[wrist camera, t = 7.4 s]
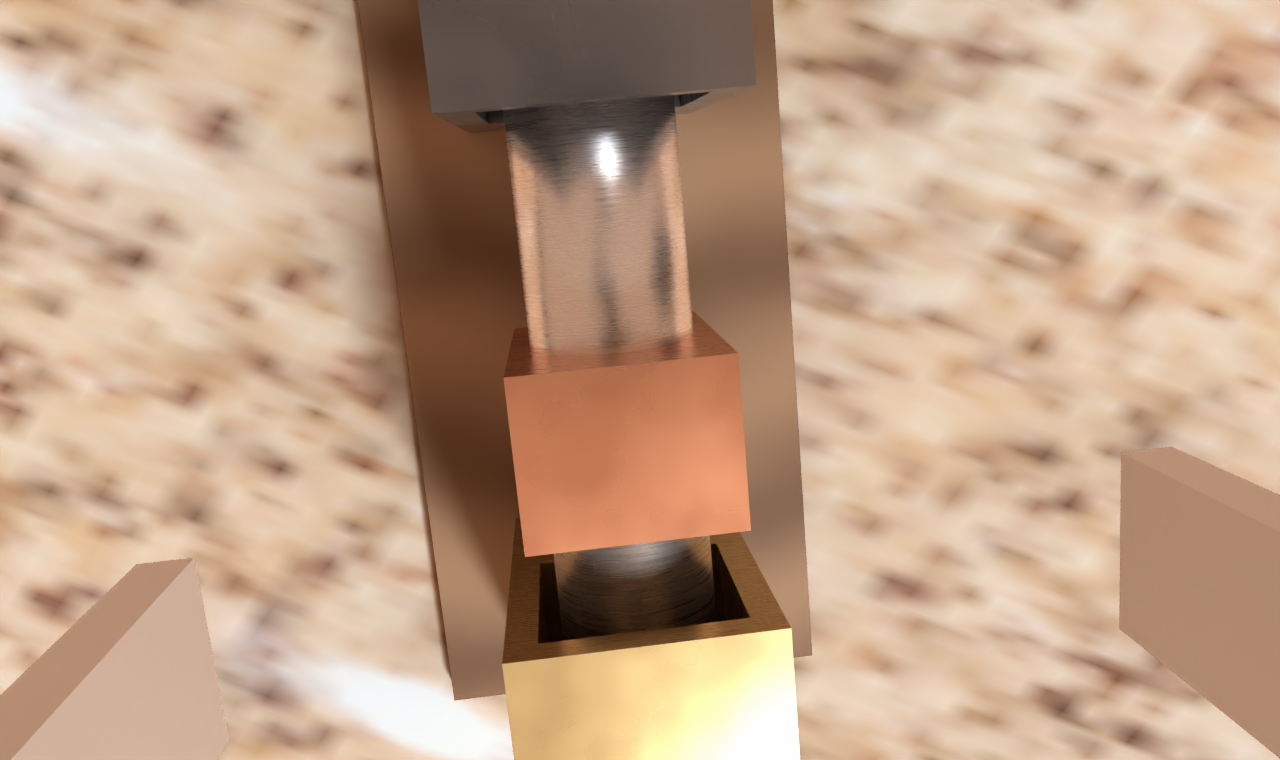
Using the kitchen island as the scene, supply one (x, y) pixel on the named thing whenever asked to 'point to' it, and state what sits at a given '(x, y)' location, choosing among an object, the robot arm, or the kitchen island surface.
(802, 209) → the kitchen island surface
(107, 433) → the kitchen island surface
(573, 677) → the socket
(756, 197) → the board
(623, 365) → the rod
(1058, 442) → the kitchen island surface
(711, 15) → the sleeve
